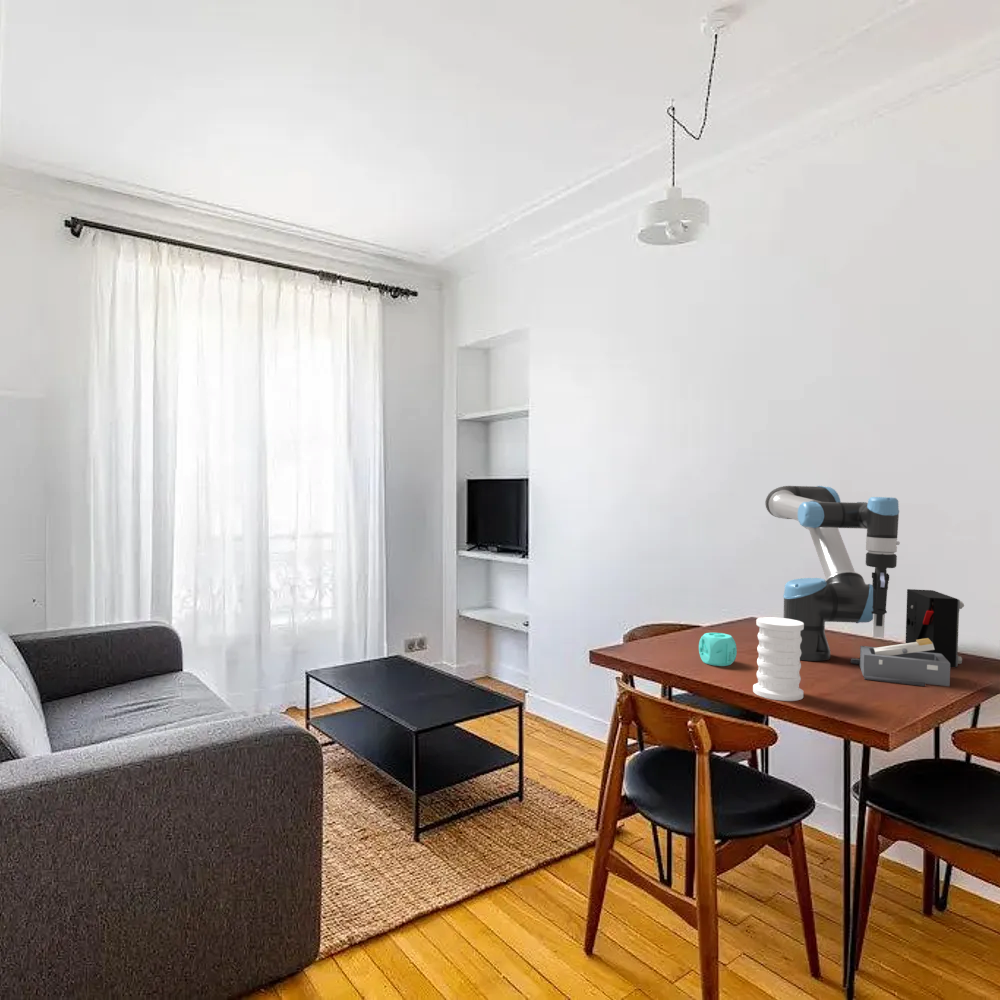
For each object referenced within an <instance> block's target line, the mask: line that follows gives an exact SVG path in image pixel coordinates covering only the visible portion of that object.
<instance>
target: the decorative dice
mask: <svg viewBox="0 0 1000 1000" xmlns="http://www.w3.org/2000/svg"><path fill="white" fill-rule="evenodd" d="M737 649H738V648H737V643H736V641H735V639H734V637H733V636H732V635H731V634H727V633H724V632H706V633H705V632H704V634H703V635H701V637H700V639H699V642H698V653H699V657H700V659H701V661H702V663H704V664H707V665H710V666H715V667H727V666H731V665H732V664H733V663H734V662H735V661H736V658H737V651H738V650H737Z"/></svg>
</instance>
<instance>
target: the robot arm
mask: <svg viewBox="0 0 1000 1000" xmlns="http://www.w3.org/2000/svg"><path fill="white" fill-rule="evenodd" d="M764 505H765V509H766V510H767V512H768V513H769V514H770V515H771V516H773V517H776V518H778V519H784V520H795V521H798V523H799V524H800V526H801V527H803V528H805V529H806V530H808V531H809V533H810V536H811V539H812V542H813V546H814V548H815V551H816V553H817V557H818V560H819V563H820V566H821V568H822V572H823V574H824V576H825V579H824V578H821V577H803V578H794V579H791V580H788V581H787V582H786V583H785V585H784V591H783V596H782V597H783V618H787V619H793V620H798V621H801V622H803V623H804V629H803V630H801V632H800V636H801V638H802V642H801V644H800V649H801V657H800V661H809V662H810V661H813V662H814V661H815V662H818V661H819V662H822V661H827V660H830V659H831V649H830V646H829V643H828V638H827V636H826V633H825V630H826V629H825V628H826V627H825V625H826V622H827V623H831V622H832V623H855V624H864V623H870V622H872V632H871V633H872V638H880V639H884V638H885V619H886V618H885V616H886V615H885V614H887V613H888V612H887V598H888V596H887V595H888V589H889V583H890V582H889V581H890V574H889V573H887V571H888V570H887V569H896V567H897V563H898V561H897V560H898V556H897V554H896V553H897V552H898V550H897V549H898V547H897V546H899V545H900V543H901V542H900V541H898V535H899V534H898V533H899V514H900V509H899V507H900V506H899V499H898V498H896V497H892V496H891V497H887V496H871V497H869V498H868V500H867V502H865V501H857V502H841V498H840V495H839V494H838V492H837V491H836V489H834V488H832V487H831V486H830V487H829V486H822V485H816V486H807V485H784V486H780V487H776V488H775V489H773V490H771V491H770V492H769V493H768V495H767V496H766V499H765V503H764ZM839 529H864V530H866V538H865V539H866V541H865V543H866V544H865V550H866V551H867V552H866V554H865V566H867V567H870V568H874V572H871V578H872V584H871V583H868V584H867V583H866V582H865V579H864V577H863V576H862V574H860V573H858V572H857V571H855V568H854V566H853V563H852V560H851V559H850V555H849V553H848V551H847V548H846V545H845V543H844V540H843V537H842V535H841V532H840V530H839Z"/></svg>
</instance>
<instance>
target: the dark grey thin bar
mask: <svg viewBox="0 0 1000 1000" xmlns="http://www.w3.org/2000/svg"><path fill="white" fill-rule="evenodd" d="M863 679H864V680H867V681H876V682H881V683H882V682H883V683H891V684H901V685H909V686H918V687H926V684H925V682H916V681H908V680H899V679H890V678H881V677H872V676H864V677H863Z"/></svg>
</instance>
